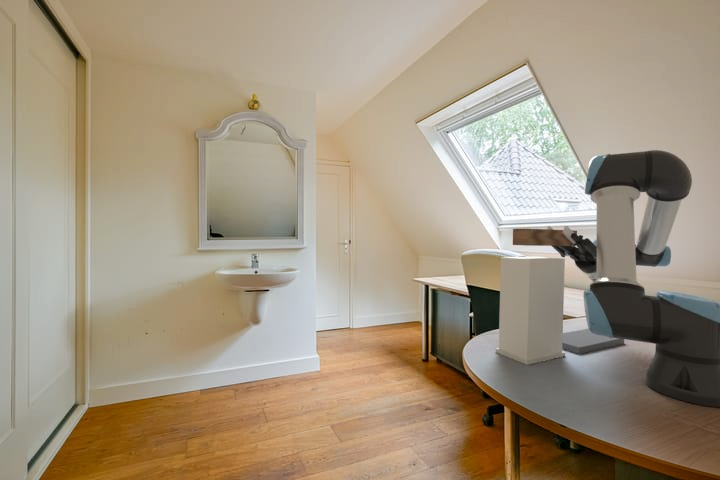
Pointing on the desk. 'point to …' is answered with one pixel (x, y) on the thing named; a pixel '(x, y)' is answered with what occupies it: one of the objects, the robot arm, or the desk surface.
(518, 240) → the walnut bar
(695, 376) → the robot arm
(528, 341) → the stand
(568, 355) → the desk surface
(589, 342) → the felt mat
